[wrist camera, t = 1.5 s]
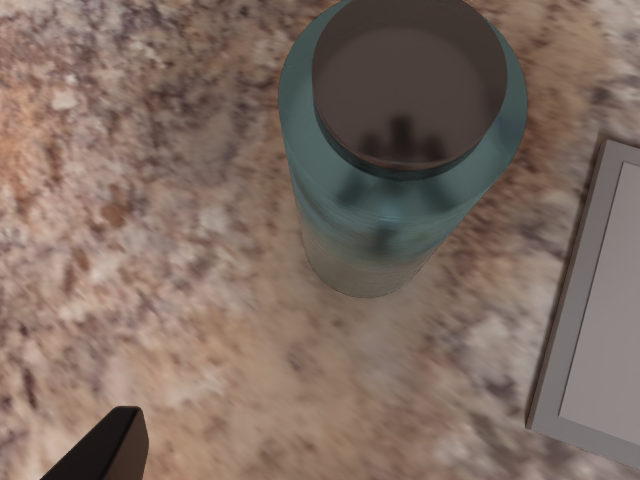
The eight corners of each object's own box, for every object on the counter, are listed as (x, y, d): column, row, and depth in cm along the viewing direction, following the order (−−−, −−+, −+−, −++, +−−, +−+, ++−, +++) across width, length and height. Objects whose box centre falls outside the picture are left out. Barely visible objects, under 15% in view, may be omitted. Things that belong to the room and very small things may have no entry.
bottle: (405, 315, 22) (504, 239, 10) (285, 273, 23) (232, 148, 10) (442, 200, 24) (575, -4, 11) (327, 161, 24) (326, -76, 11)
